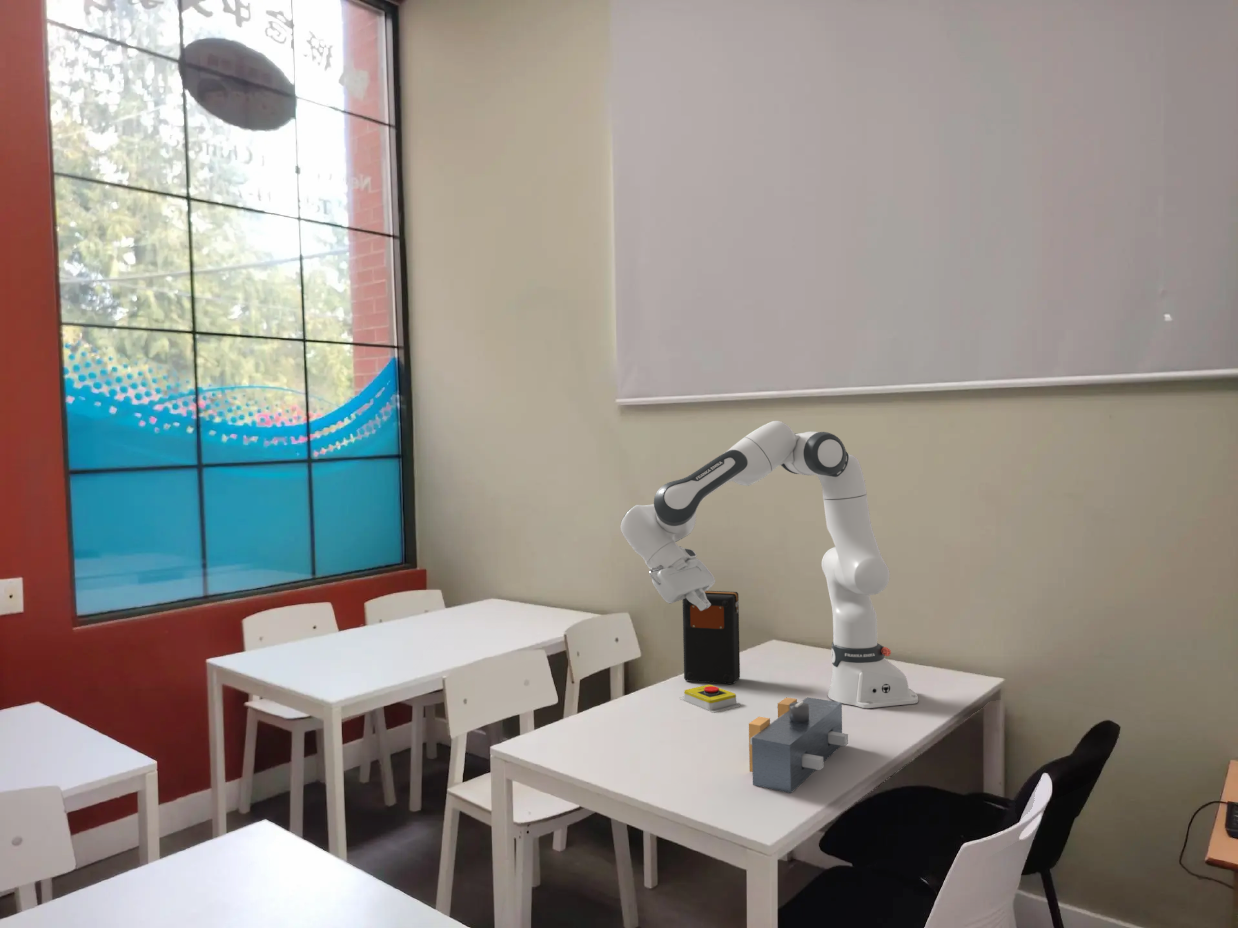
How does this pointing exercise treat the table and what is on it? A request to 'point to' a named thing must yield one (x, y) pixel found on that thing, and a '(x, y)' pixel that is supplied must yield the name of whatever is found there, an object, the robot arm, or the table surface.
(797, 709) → the dial
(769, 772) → the mount
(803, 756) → the knob
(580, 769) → the table surface
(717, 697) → the emergency button
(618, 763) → the table surface
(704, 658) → the black box
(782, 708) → the knob
